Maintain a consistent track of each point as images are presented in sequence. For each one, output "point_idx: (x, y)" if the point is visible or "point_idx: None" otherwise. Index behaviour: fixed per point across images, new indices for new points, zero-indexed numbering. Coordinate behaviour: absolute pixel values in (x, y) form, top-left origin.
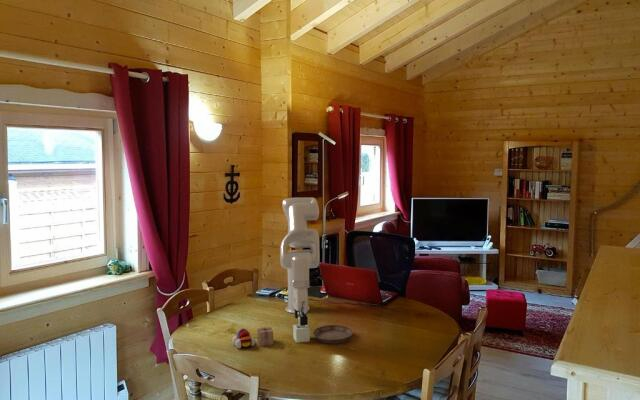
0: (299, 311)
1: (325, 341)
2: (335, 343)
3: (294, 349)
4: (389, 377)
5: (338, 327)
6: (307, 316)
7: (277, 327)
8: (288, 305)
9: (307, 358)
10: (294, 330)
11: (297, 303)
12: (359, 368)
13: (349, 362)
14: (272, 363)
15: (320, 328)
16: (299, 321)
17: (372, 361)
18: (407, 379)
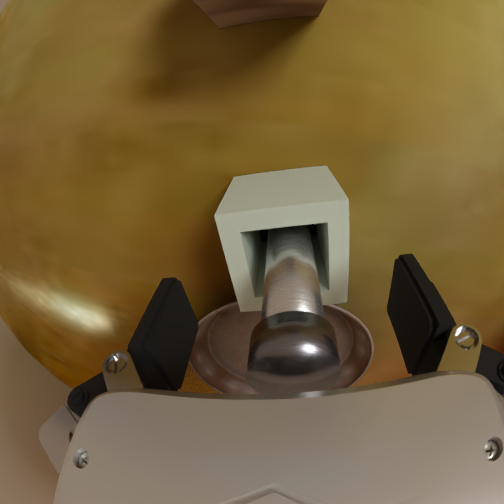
0: (336, 368)
1: (205, 321)
2: (211, 342)
3: (131, 162)
4: (46, 358)
5: (345, 379)
6: (167, 388)
7: (499, 115)
8: None
9: (55, 222)
10: (291, 192)
11: (57, 497)
12: (53, 335)
13: (71, 330)
14: (14, 88)
15: (363, 329)
16: (271, 282)
17: (95, 368)
18: (53, 373)
